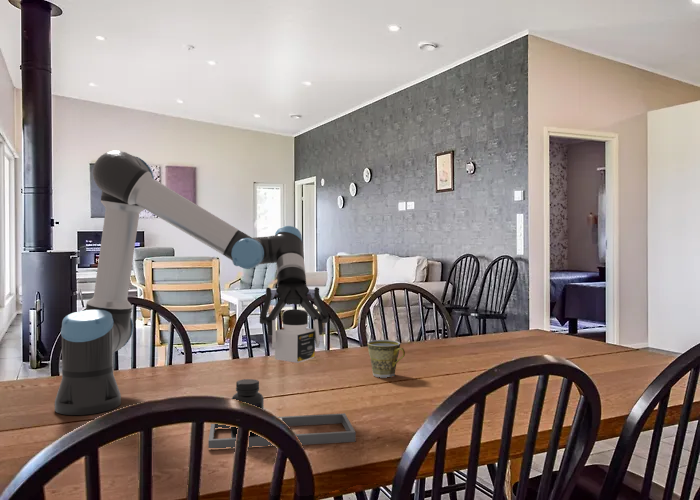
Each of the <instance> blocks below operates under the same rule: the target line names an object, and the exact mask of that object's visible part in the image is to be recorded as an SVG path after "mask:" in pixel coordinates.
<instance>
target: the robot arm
mask: <svg viewBox="0 0 700 500" xmlns="http://www.w3.org/2000/svg"><path fill="white" fill-rule="evenodd" d="M154 177H155V176H154V173H153V171H152V168H151V167H150V166H149V164H147V162H146V161H145V160H143V159H142V158H140V157H139V156H135V155H133V154H130V153H128V152H126V151H122V150H111V151H107V152H105V153H103V154H102V155H100V156H99V157H98V158H97V159H96V161H95V162H94V165H93V169H92V178H93V180H94V183H95V184H96V186H97V187H98V189H100V191H101V196H100V203H101V204H102V205H103V206H104V209H105V212H104V219H103V227H102V234H101V241H100V249H99V255H98V260H97V261H98V262H97V263H98V264H97V271H96V278H95V285H94V290H93V291H94V292H93V297H92V298H90V299H89V300H87V301H86V306H85V310H79V311H75V312H71V313H69V314H67V315H65V317H63V319H62V322H61V328H60V336H61V369H62V371H61V372H62V374H61V375H62V376H61V381H60V384H59V387H58V390H57V393H56V397H55V400H54V411H55V413H57V414H60V415H65V416H66V415H67V416H85V415H86V416H88V415H94V414H99V413H105V412H108V411H111V410H114V409H116V408H117V407H119V406H121V403H122V395H121V391H120V388H119V386H118V384H117V380H116V378H115V377H116V376H115V375H114V353H115V352H117V351H120V350H121V349H122V348H124V347H126V345H127V344H128V343H129V341H130V339H131V338H132V336H133V333H134V321H133V318H132V310H133V305H132V304H131V302H130V301H129V300H128V298H129V289H130V284H131V277H132V276H131V274H132V268H133V262H134V261H133V260H134V254H135V246H136V239H137V234H138V233H137V232H138V225H139V219H140V213H142V212H143V211H144V210H146V211H148V212H149V213H151V214H152V215H155V216H156V217H158V218H159V219H161V220H163V221H164V222H166V223H168V224H170V225H172V226H173V227H175V228H176V229H179V230H180V231H182V232H183V233H185V234H187V235H189V236H190V237H192V238H194V239H195V240H197V241H199V242H200V243H202V244H204V245H206V246H207V247H209V248H210V249H212V250H213V251H216V253H219V254H221V255H223V256H224V257H225V258H227V259H229V260H231V261H232V264H233V265H234V266H235V267H240V268H242V269H246V270H250V269H255V268H256V267H258V266H259V265H265V264H267V265H268V264H276V275H277V276H276V280H277V284H276V285H277V287H276V289H275V288H274V289H271V288H270V287H266V288H265V300H264V302H263V305H262V309H261V312H260V314H259V324H260V325H266V329H267V330H266V331H267V336H268V337H269V336H270V337H271V342H272V343H271V344H272V346H271V347H272V350H275V349H276V330H277V329H276V328H277V327H276V319H277V317H278V315H280V313H281V311H282V309H284V308H285V306H286V305H287V306H290V305H300V307H301V308H303V310H304V311H306V312H307V313H308V316H309V317H310V318H311V319H312V321H314V322H313V329H314V330H315V349H316V348H320V344H321V339H320V335H323V331H324V328H323V327H324V326H323V325H324V324H328V322H329V316H330V315H329V313H328V311H327V307H326V306H325V304H324V302H323V299H322V298H321V297H322V296H321V295H320V288H319V287H317V286H316V287H314V289H311V288H309V287H308V285H307V279H306V278H307V276H306V266H305V255H304V254H305V253H304V244H303V243H304V242H303V238H302V234H301V231H300V230H299V229H298V228H297V227H295V226H293V225H284V226H283V225H282V227H280V228H278V229H277V230H276V231H275V234H274V235H270V236H258V237H251V236H250V235H248V234H246V232H244V231H241V230H239V229H238V228H236V227H234V226H233V225H231V224H229V223H228V222H227V221H225V220H223V219H222V218H219V217H218V216H216V215H215V214H213V213H211V212H209V211H208V210H206V209H205V208H203V207H201V206H200V205H198V204H196V203H195V202H193V201H191V200H189V199H188V198H186V197H185V196H183V195H181V194H179V193H178V192H176V191H174V189H171V188H169V187H168V186H166V185H165V184H162V183H161V182H159V181H157V180H156V179H155V178H154ZM309 295H310V297H311V299H313V302H314V304H315V306H316V308H315V306H313V304H312V303H311V301H310V300H309V299H308V296H309ZM275 296H277V297H278V301H277V303H276V304H275V306H274V307H273V308H272V310H271V312H270V313H269V314H268V312H269V309H270V306H271V302H272V300H273V299H274V298H275Z"/></svg>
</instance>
